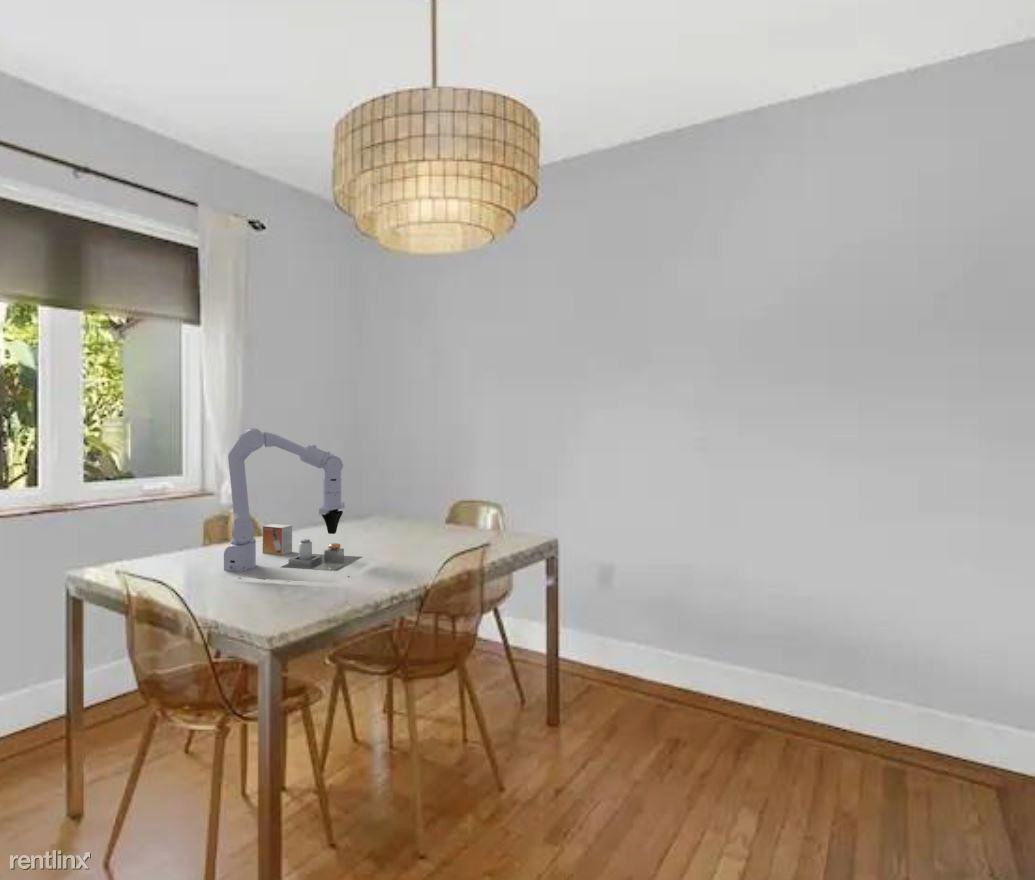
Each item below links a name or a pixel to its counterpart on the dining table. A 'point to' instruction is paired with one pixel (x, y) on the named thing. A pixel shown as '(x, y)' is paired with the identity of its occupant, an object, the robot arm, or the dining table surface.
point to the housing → (323, 561)
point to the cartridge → (305, 549)
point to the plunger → (334, 546)
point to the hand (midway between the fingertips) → (332, 533)
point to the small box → (277, 539)
